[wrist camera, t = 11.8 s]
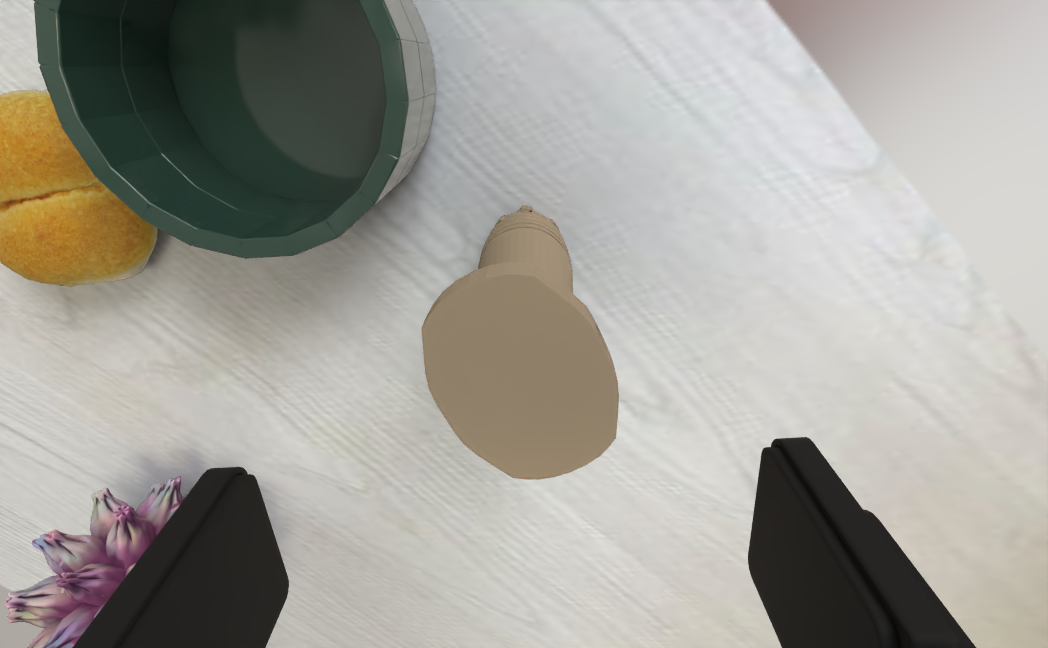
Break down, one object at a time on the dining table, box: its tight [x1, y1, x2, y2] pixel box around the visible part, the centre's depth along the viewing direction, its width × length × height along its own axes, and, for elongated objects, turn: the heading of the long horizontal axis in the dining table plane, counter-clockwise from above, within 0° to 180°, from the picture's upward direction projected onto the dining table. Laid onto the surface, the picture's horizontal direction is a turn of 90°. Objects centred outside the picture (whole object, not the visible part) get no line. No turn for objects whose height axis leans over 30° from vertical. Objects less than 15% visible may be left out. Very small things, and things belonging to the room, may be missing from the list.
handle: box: [422, 206, 619, 479], centre depth 23 cm, size 5×6×15 cm
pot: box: [34, 0, 436, 258], centre depth 24 cm, size 13×13×7 cm
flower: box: [5, 476, 183, 648], centre depth 32 cm, size 12×12×12 cm
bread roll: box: [0, 90, 158, 287], centre depth 27 cm, size 8×9×4 cm
